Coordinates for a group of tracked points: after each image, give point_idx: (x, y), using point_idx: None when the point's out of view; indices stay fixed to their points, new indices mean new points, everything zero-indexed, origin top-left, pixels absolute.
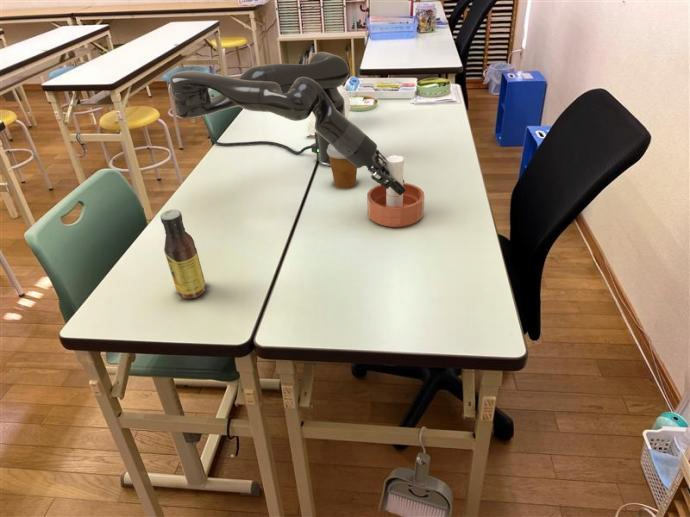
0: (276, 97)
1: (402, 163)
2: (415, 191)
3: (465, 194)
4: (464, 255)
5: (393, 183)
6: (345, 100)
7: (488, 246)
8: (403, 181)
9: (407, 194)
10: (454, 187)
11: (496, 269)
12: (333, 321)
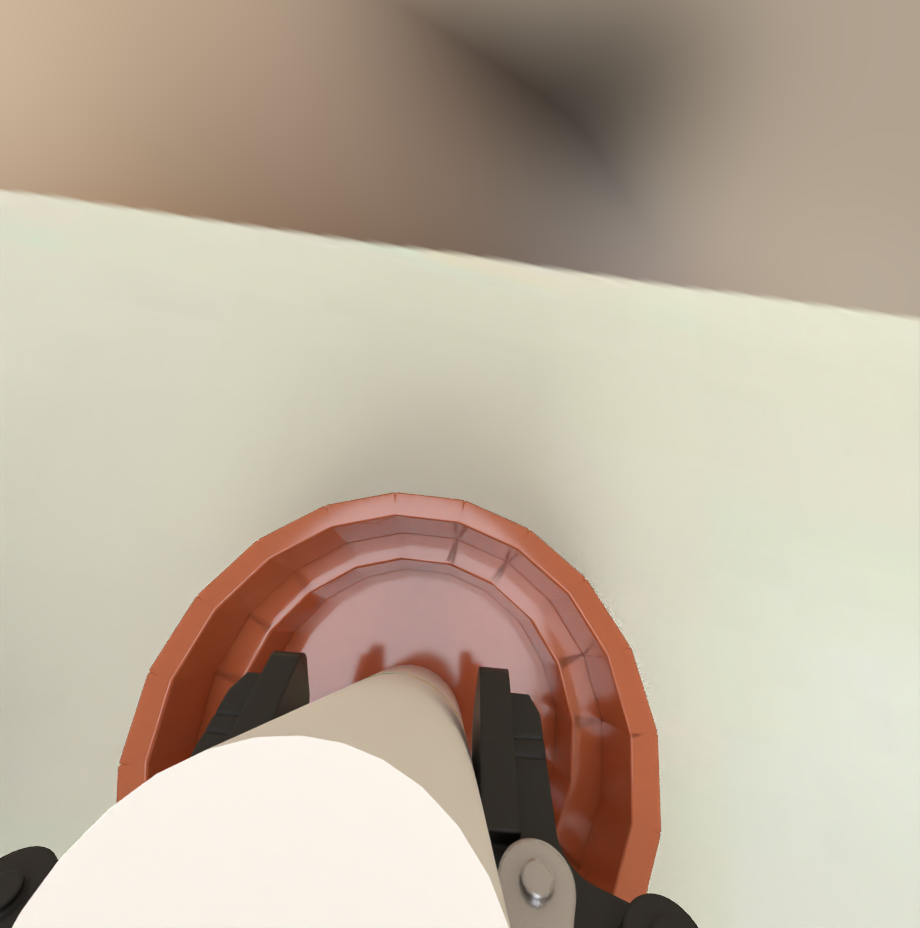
0: None
1: (432, 772)
2: (312, 547)
3: (263, 290)
4: (833, 420)
5: (576, 881)
6: None
7: (747, 315)
8: (301, 661)
9: (276, 608)
10: (168, 318)
11: (916, 331)
12: None
